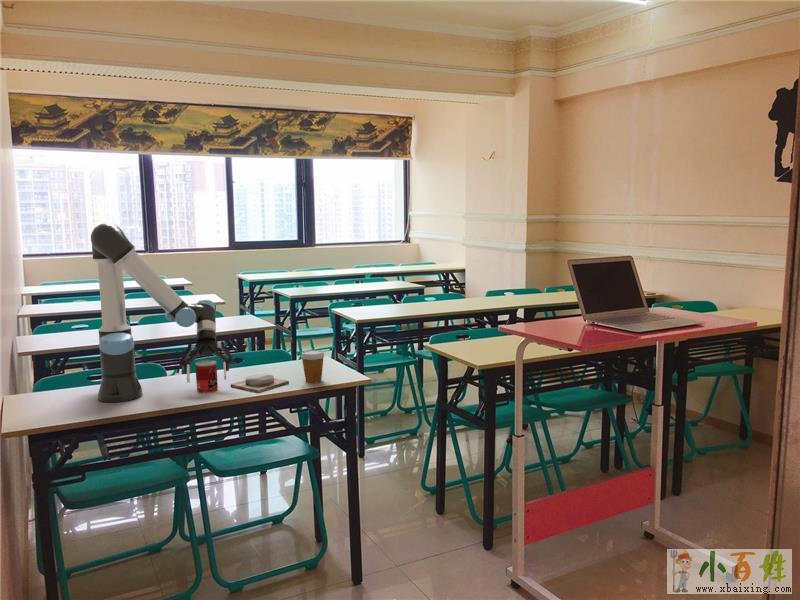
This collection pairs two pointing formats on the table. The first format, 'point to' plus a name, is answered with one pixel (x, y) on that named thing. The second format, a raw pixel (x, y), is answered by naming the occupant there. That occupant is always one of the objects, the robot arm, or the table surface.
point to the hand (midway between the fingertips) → (206, 379)
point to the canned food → (206, 376)
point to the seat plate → (259, 388)
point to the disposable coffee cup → (313, 365)
